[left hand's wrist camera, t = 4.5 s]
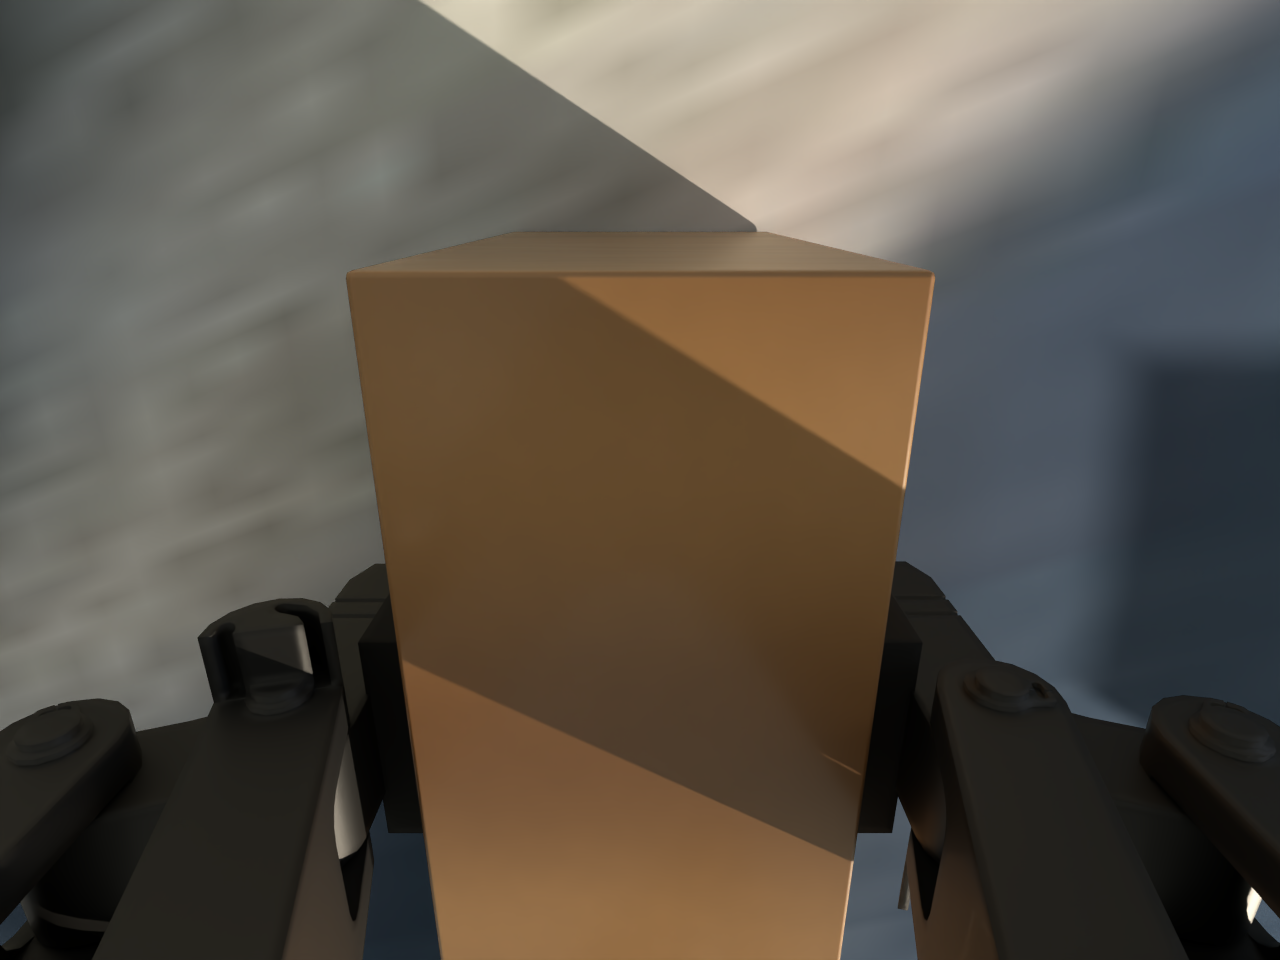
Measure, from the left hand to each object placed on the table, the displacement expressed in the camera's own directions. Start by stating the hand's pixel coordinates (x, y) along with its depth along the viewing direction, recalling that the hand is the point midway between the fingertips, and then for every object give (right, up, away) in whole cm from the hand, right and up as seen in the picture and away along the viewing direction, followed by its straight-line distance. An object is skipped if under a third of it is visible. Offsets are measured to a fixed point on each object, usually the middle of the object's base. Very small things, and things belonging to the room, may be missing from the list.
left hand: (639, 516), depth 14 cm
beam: (0, -23, +9) cm, 25 cm away
